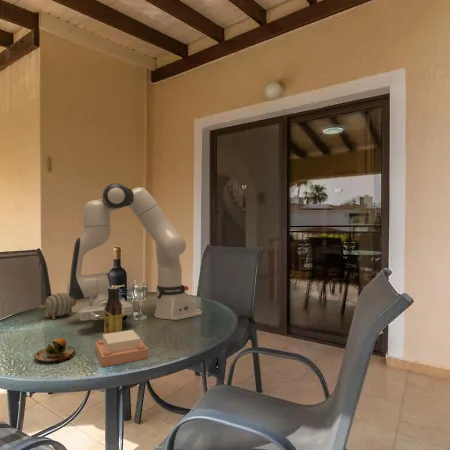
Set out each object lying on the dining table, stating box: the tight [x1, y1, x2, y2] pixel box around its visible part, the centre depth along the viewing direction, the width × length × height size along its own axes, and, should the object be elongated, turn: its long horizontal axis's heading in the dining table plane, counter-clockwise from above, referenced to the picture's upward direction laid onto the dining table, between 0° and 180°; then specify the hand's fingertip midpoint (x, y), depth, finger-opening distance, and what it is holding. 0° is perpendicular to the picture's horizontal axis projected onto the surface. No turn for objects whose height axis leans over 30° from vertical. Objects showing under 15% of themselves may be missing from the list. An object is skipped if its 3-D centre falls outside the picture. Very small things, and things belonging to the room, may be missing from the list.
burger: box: [33, 332, 76, 364], centre depth 106 cm, size 12×12×8 cm
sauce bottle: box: [103, 285, 123, 334], centre depth 120 cm, size 6×6×20 cm
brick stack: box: [94, 329, 149, 368], centre depth 108 cm, size 14×14×6 cm
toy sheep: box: [38, 292, 77, 320], centre depth 150 cm, size 11×17×11 cm, turn 149°
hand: (109, 316), depth 126 cm, fingers open, 8 cm apart
